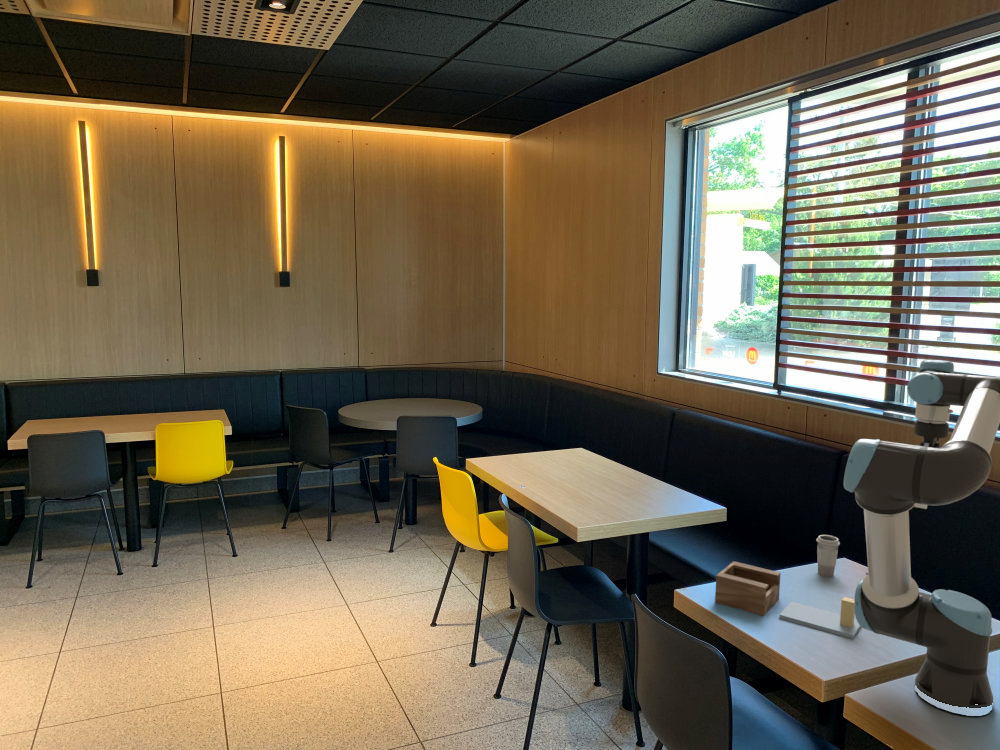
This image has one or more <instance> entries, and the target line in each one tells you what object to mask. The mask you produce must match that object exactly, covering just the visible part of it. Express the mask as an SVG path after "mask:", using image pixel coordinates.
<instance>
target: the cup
mask: <svg viewBox="0 0 1000 750" xmlns="http://www.w3.org/2000/svg"><path fill="white" fill-rule="evenodd" d="M815 541H816V542H817V546H816V547H817V548H816V549H817V550H816V554H817V555H816V556H817V560H816V561H817V563H816V564H817V574H818V575H820V576H822V577H826V578H832V577H834V575H835V574H834V573H835V568H836V565H837V558H838V553H839V552H838V551H839V546H840V545H841V542H840V541H839V538H838V537H836V536H834V535H829V534H820V535H818V537H817V538H816V540H815Z"/></svg>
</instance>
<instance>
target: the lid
mask: <svg viewBox="0 0 1000 750" xmlns="http://www.w3.org/2000/svg"><path fill="white" fill-rule="evenodd" d="M854 605H855V601H854V598H850V597H846V596H843V598H842V599H841V605H840V614H839V613H836V612H833V611H828V610H826V609H822V608H817V607H814V606H809V605H806V604H803V603H798V602H795V601H790V603H788V605H786V607H785V608H784V609H783V610H782V611H781V613H780V614H779V619H781V620H784V621H787V620H788V622H792V623H794V624H799V625H802V626H804V627H805V626H806V627H810V628H813V629H817V630H820V631H823V632H827V633H830V634H834V635H838V636H842V637H845V638H849V639H852V640H854V639H855V638H856V636H857V634H858V632H859V630H860V629H861V628H862V627H861V626H860V625H859V624H858V622H857V620H856V616H855V611H854Z"/></svg>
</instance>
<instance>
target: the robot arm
mask: <svg viewBox="0 0 1000 750" xmlns="http://www.w3.org/2000/svg"><path fill="white" fill-rule="evenodd" d="M906 389H907V394H908V397H909V398H910V399H911V400H912V401H913V402H915V403H916V404H915V413H914V414H915V415H914V417H915V418H916V419H915V421H914V428H913V432H914V434H915V436H918V437H922V438H923V440H922V441H921V442H920V444H919V445H917V444H909V443H908V444H907V443H899V442H893V441H887V440H886V441H885V440H880V438H877V439H872V438H871V439H870V438H869V439H868V438H860V439H857V441H855V443H854V444H853V446H852V447H851V450H850V453H849V455H848V457H847V458H848V459H847V462H846V466H845V470H844V476H843V488H844V489H845V490H846V491H848V492H850V493H854V498H855V501H856V503H857V505H858V506H859V507H860V508H862V509H863V516H864V518H863V519H864V529H865V542H866V543H865V544H866V559H867V570H868V572H867V573H868V575H867V574H866V575H865V577H864V578H863V579H860V580H859V582H858V583H857V586H856V588H855V591H854V592H855V593H854V598H853V599H854V601H855V605H854V611H855V616H854V617H855V618H856V620H857V622H858V624H859V625H860V626H861V627H860V628H862V629H864V630H867V631H869V632H872V633H874V634H876V635H882V636H884V637H885V636H886V637H890V638H892V639H896V640H899V641H902V642H903V641H904V642H907V643H909V644H910V643H911V644H915V645H918V646H921V647H924V648H926V655H925V656H926V657H925V659H924V660H923V663H922V664H921V667H920V669H919V670H918V672H917V675H916V676H915V679H914V686H915V685H916V686H917V688H918V689H919V690H920V691H921V692H923V693H924V694H926V695H927V696H929V697H931V698H933V699H935V700H937V701H939V702H942V703H945V704H949V705H952V706H958V707H966V708H967V707H969V708H981V707H987V706H990V705H992V703H993V704H994V701H993V700H994V695H993V691H992V688H991V684H990V680H989V676H988V672H987V671H988V665H989V664H988V663H989V653H990V641H991V635H992V633H993V628H992V623H993V622H992V617H993V616H992V613H991V611H990V610H989V608H988V607H987V606H986V605H985V604H984V603H982V602H981V600H980V601H979V600H978V599H976V598H974V597H973V596H970V595H968V594H965V593H962V592H959V591H955V590H952V589H947V590H946V589H945V588H944V589H943V588H942V589H941V588H940V589H935V590H933V591H932V593H931V594H928V593H926V592H925V593H924V592H921V591H919V589H920V588H919V585H918V584H917V582H916V580H915V579H914V578H913V577H912V573H911V572H912V571H911V570H912V569H911V545H910V544H911V543H910V542H911V541H910V514H909V513H910V512H909V511H910V510H912V509H913V508H919V509H924V510H926V509H928V506H933V507H934V506H945V505H949V504H952V503H955V502H959V501H961V500H963V499H965V498H967V497H969V496H971V495H972V494H973V493H975V492H976V491H977V490H979V489H980V488H981V487H982V486H983V485H984V483H985V482H986V481H987V480H988V479H989V477H990V476H989V475H990V473H991V470H992V466H993V460H992V456H991V451H992V448H993V445H994V442H995V439H996V435H997V432H998V430H999V426H1000V376H990V375H989V376H987V375H973V374H972V375H971V374H962V373H960V374H959V373H955V363H953V362H952V361H949V360H942V359H924V360H921V361H920V364H919V369H918V373H915V375H913V376H912V377H911V378H910V379H909V381H908V382H907V387H906ZM951 406H958V407H962V409H961V410H960V414H959V416H958V418H957V420H956V423H955V425H954V428H953V430H952V433H951V435H950V438H949V440H948V441H947V442H946V443H944V444H942V446H941V445H940V444H941V443H939V442H940V439H946V438H947V437H949V426H950V424H949V423H948V421H949V420H950V416H951V415H950V414H953V413H954V411H953V409H951ZM940 446H941V447H940ZM975 704H978V705H975Z"/></svg>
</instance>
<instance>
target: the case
mask: <svg viewBox="0 0 1000 750" xmlns="http://www.w3.org/2000/svg"><path fill="white" fill-rule="evenodd" d="M781 575H782V574H781V572H779V571H776V570H771V569H768V568H767V569H766V568H762V567H758V566H755V565H752V564H747V563H744V562H743V563H742V562H739V561H731V563H729V564H728V565H727V566H726V567H725V568H723V569H722V570H721V571H720V572H718V573H717V574H716V576H715V592H714V593H715V596H714V603H716V604H720V605H723V606H726V607H731V608H734V609H737V610H740V611H744V612H748V613H751V614H755V615H758V614H759V616H762V617H764V616H765V615H766V614H767V613H768V612H769V611H770V610H771V609H772V607H773V606H774V605H776V603H777V602H778V601H779V599H780V588H781Z"/></svg>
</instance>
